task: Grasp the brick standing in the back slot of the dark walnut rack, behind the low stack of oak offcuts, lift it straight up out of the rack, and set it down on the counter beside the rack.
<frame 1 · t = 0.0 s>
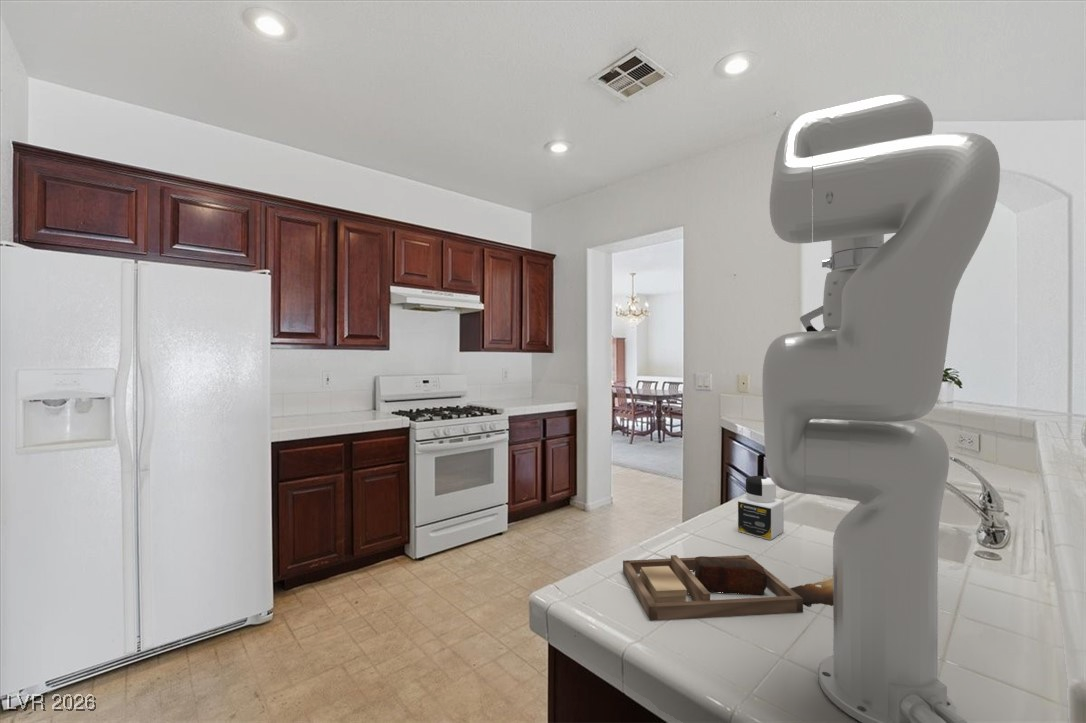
hand: (857, 363, 82), 37 cm above the worktop, tool pointing down, fingers open, 9 cm apart
parchment: (857, 591, 79), on the worktop
brick: (729, 590, 79), on the worktop
medicine bottle: (760, 533, 104), on the worktop
rack: (706, 590, 78), on the worktop
offcut stack: (662, 594, 78), on the worktop
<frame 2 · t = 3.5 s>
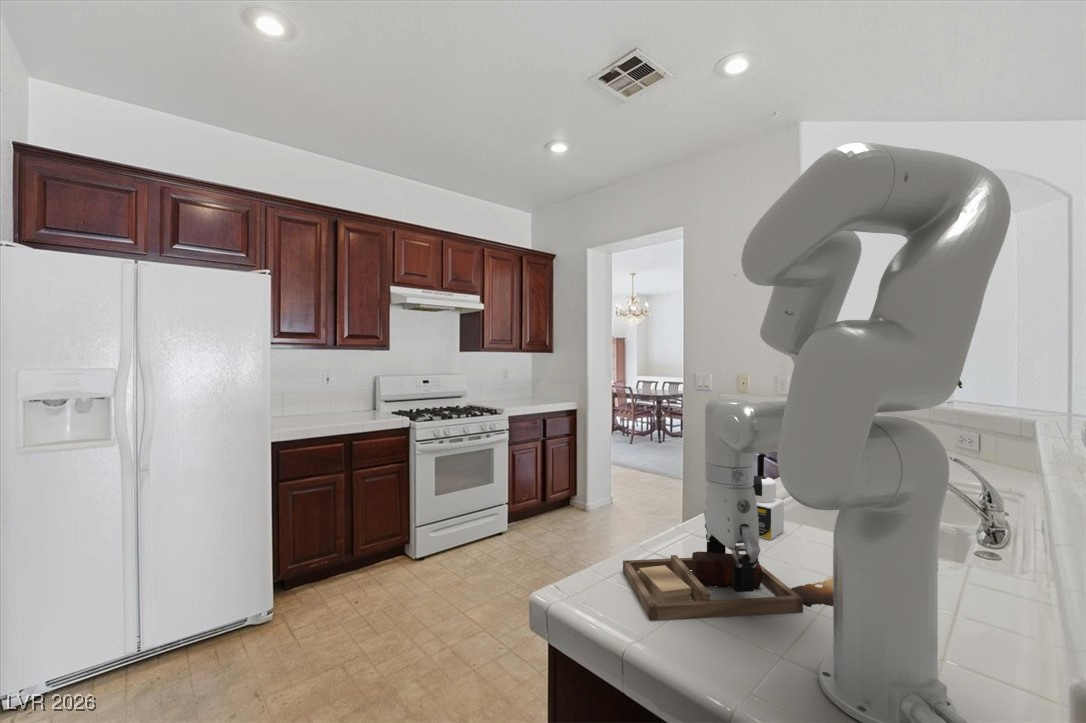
hand: (729, 576, 79), 2 cm above the worktop, tool pointing down, fingers open, 9 cm apart
brick: (726, 584, 81), on the worktop, touching gripper
everything else where it was.
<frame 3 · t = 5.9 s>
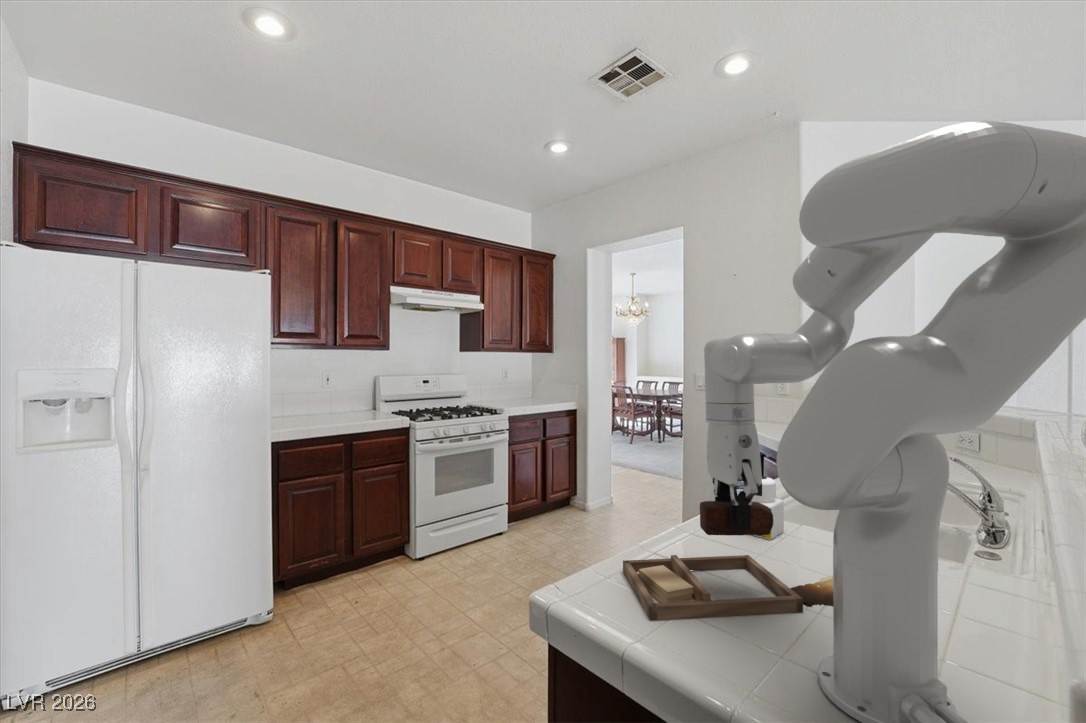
hand: (732, 523, 78), 11 cm above the worktop, tool pointing down, fingers closed on brick, 4 cm apart
brick: (735, 533, 78), point 9 cm above the worktop, touching gripper
everything else where it was.
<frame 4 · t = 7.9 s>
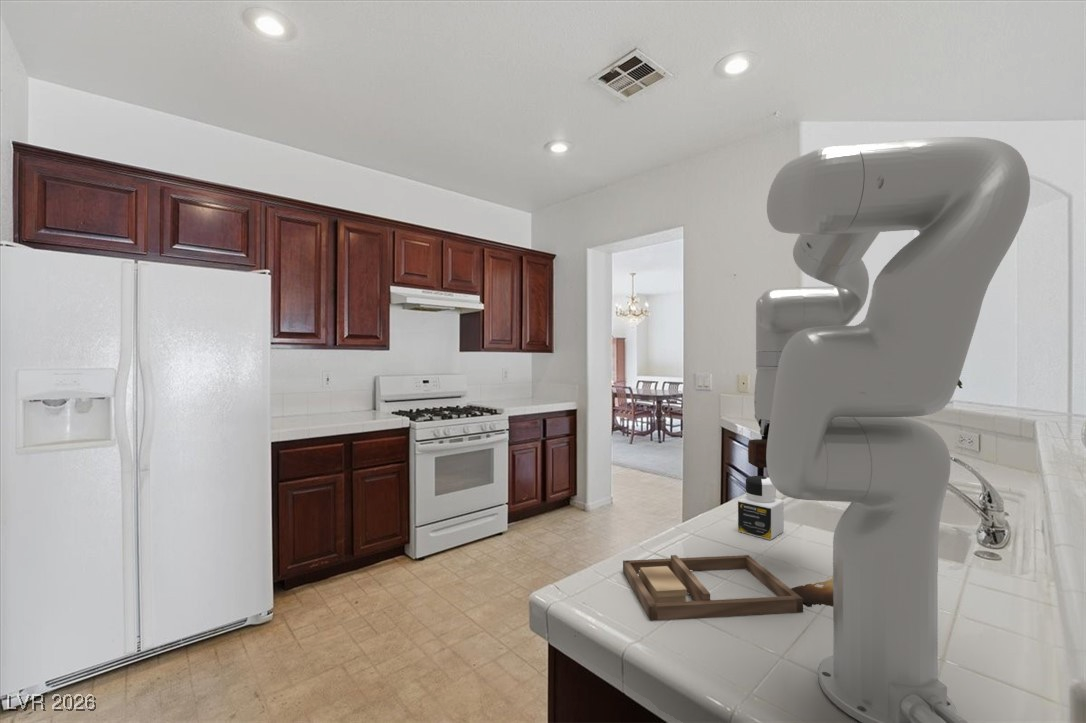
hand: (778, 458, 88), 20 cm above the worktop, tool pointing down, fingers closed on brick, 4 cm apart
brick: (780, 466, 88), point 18 cm above the worktop, touching gripper
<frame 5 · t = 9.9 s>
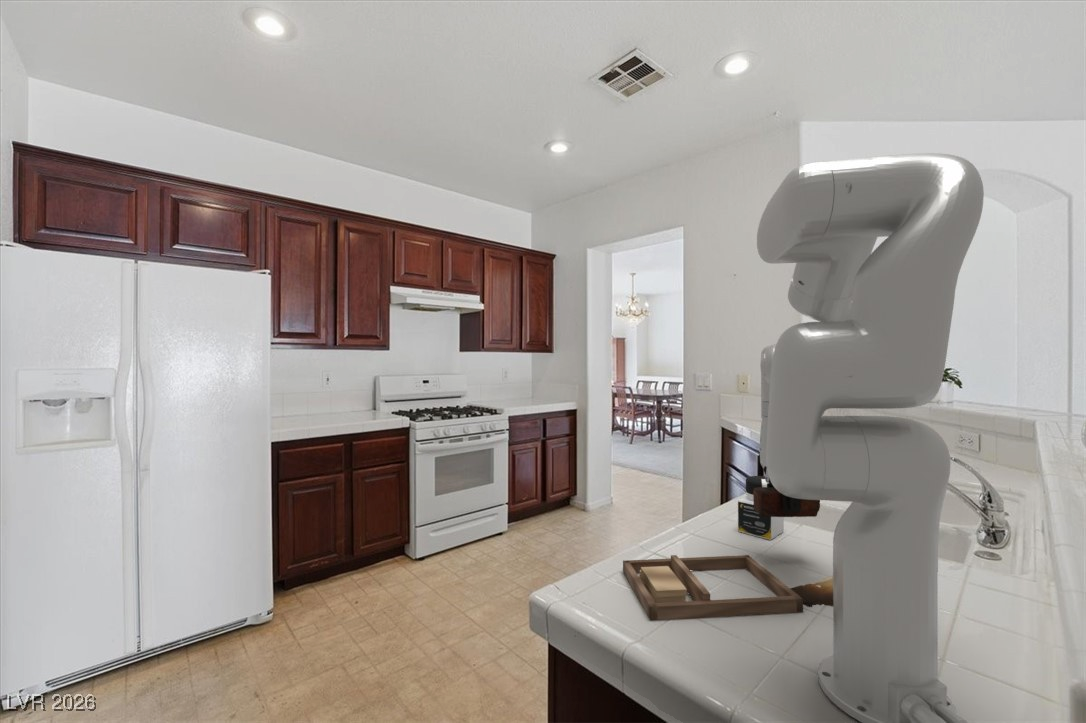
hand: (783, 507, 89), 10 cm above the worktop, tool pointing down, fingers closed on brick, 4 cm apart
brick: (785, 515, 89), point 9 cm above the worktop, touching gripper
everything else where it was.
when the fingers open (2 cm above the worktop, at t = 11.8 s): brick stays where it is, on the worktop.
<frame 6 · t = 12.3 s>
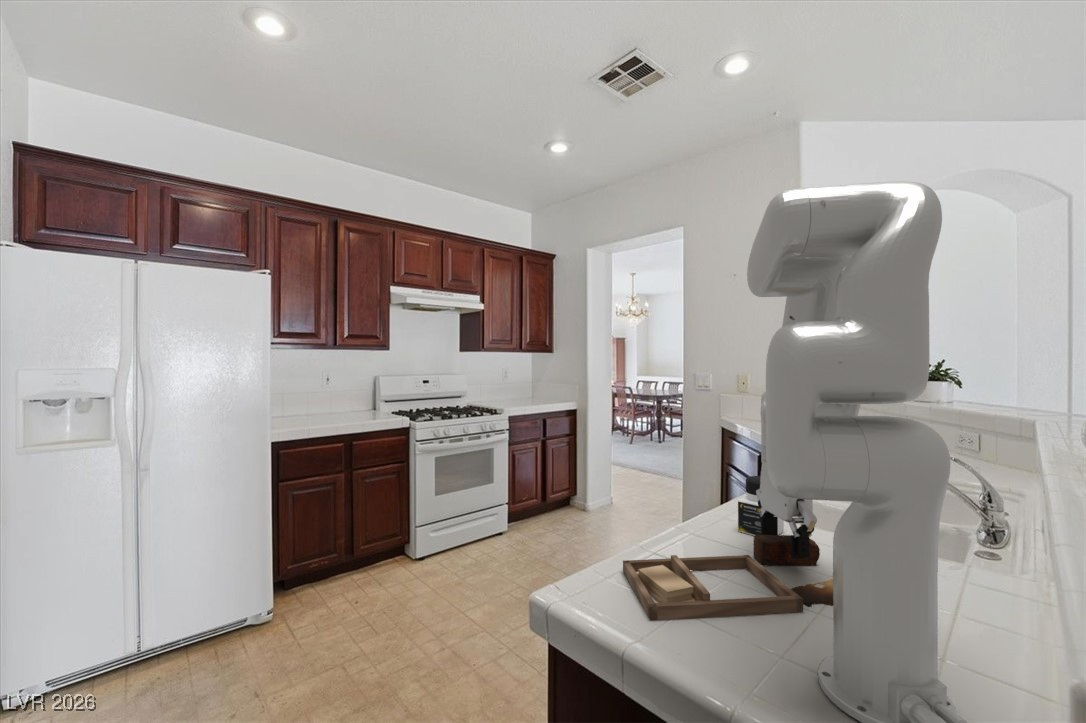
hand: (783, 547, 89), 3 cm above the worktop, tool pointing down, fingers open, 9 cm apart
brick: (785, 563, 89), on the worktop
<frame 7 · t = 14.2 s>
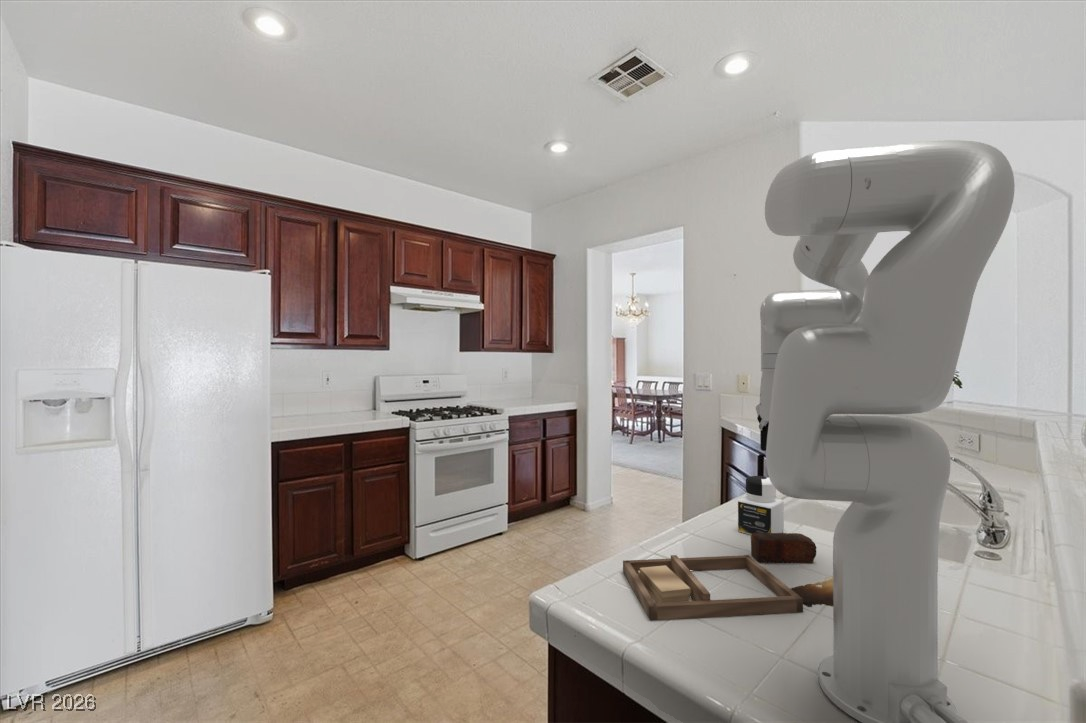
hand: (783, 455, 89), 20 cm above the worktop, tool pointing down, fingers open, 9 cm apart
brick: (782, 561, 90), on the worktop
everything else where it was.
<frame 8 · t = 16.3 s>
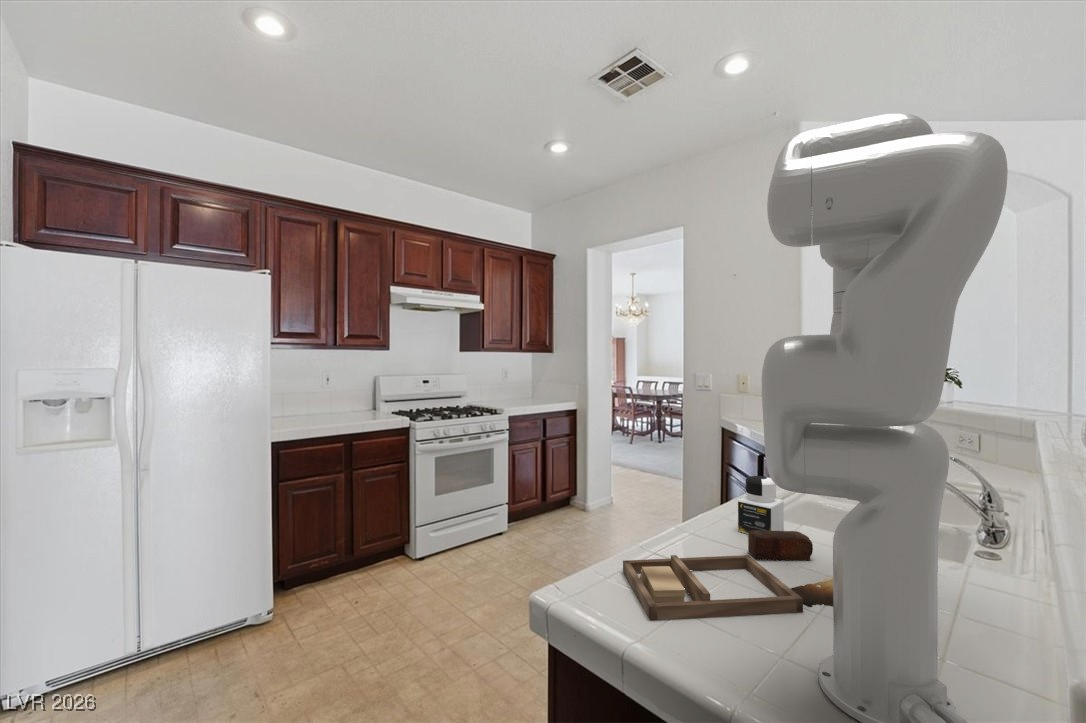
hand: (859, 404, 81), 30 cm above the worktop, tool pointing down, fingers open, 9 cm apart
brick: (779, 558, 91), on the worktop
at the end: brick inside the target area (2.5 cm from its centre), on the worktop; brick tilted 0°; offcut stack moved 0.4 cm from its start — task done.
